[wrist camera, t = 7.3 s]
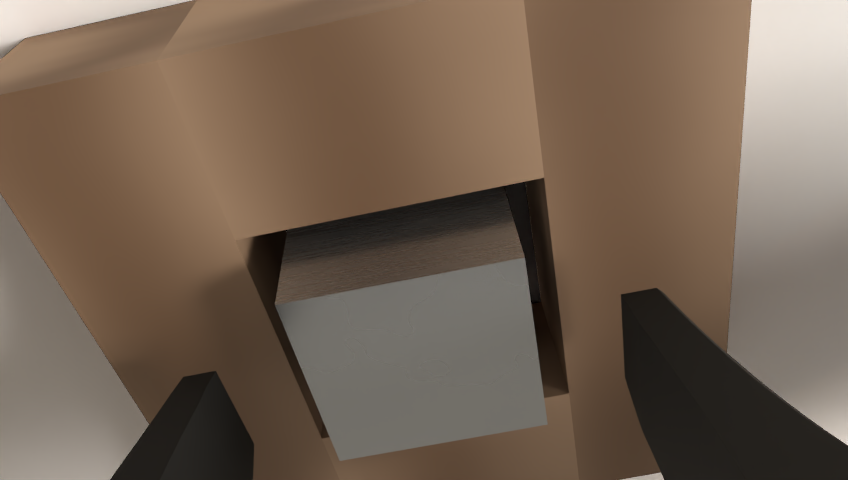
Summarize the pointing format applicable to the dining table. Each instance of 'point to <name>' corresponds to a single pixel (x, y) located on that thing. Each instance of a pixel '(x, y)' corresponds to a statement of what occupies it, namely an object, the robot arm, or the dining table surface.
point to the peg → (414, 324)
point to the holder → (380, 190)
